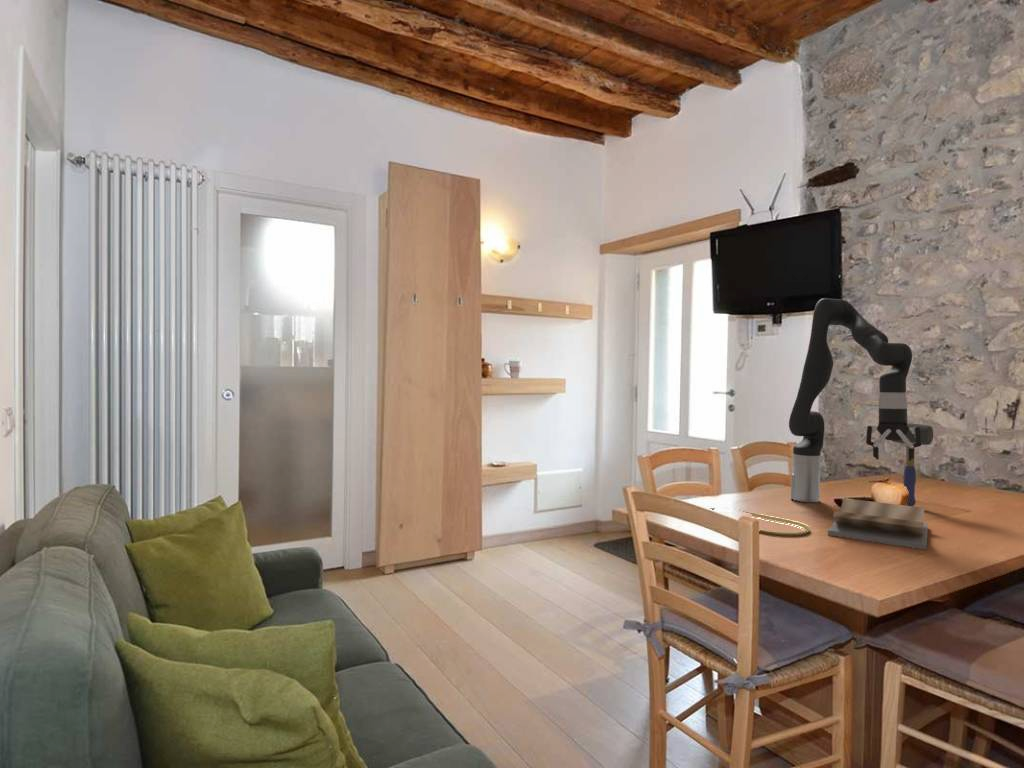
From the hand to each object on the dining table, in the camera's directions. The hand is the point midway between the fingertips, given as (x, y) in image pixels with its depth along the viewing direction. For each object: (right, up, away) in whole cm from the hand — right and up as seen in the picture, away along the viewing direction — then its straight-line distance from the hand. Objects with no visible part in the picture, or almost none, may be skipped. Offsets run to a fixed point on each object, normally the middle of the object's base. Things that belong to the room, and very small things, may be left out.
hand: (893, 459), depth 188 cm
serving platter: (-42, -21, +5) cm, 47 cm away
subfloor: (-7, -21, -4) cm, 23 cm away
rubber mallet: (+25, -21, +31) cm, 45 cm away
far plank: (-2, -17, +3) cm, 18 cm away
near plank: (-11, -18, -11) cm, 24 cm away
